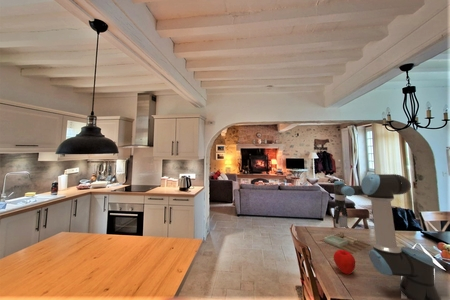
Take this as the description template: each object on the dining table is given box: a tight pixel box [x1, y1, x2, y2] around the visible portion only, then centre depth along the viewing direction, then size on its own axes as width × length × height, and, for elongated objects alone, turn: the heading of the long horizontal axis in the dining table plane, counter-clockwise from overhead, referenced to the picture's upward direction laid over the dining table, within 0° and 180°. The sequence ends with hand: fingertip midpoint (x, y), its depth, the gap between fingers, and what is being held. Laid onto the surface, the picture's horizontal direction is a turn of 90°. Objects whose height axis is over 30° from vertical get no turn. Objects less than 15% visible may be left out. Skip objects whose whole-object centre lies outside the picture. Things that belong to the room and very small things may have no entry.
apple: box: [333, 249, 356, 275], centre depth 114 cm, size 12×12×13 cm
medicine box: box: [334, 215, 349, 229], centre depth 148 cm, size 8×4×9 cm, turn 91°
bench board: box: [320, 231, 371, 255], centre depth 151 cm, size 28×26×6 cm
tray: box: [323, 234, 348, 249], centre depth 151 cm, size 12×13×3 cm
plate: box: [343, 235, 359, 245], centre depth 152 cm, size 8×8×2 cm
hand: (341, 226), depth 148 cm, fingers closed on medicine box, 9 cm apart
